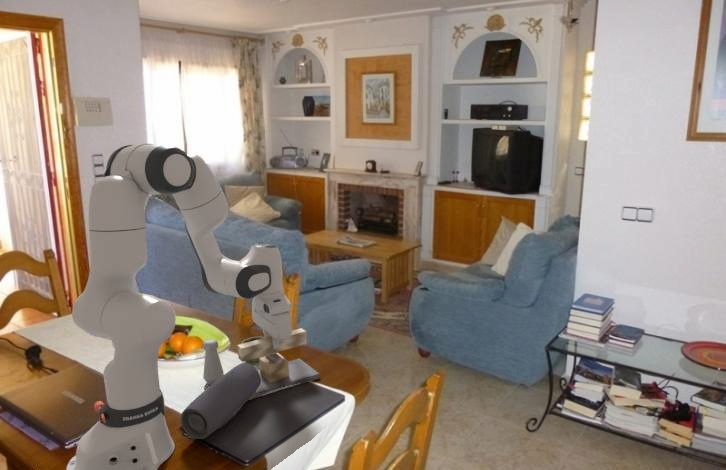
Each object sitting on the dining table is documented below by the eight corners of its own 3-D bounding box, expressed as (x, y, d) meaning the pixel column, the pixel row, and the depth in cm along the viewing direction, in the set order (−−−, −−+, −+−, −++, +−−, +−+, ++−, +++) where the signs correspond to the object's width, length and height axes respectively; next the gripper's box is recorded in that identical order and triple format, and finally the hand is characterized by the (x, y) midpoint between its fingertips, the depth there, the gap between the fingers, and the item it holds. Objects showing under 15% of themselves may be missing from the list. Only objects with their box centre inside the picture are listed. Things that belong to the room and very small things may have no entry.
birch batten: (242, 362, 151) (241, 348, 150) (238, 358, 153) (237, 345, 153) (306, 343, 161) (305, 331, 161) (302, 340, 164) (301, 328, 163)
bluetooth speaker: (236, 392, 151) (230, 359, 148) (265, 396, 147) (260, 362, 145) (182, 441, 130) (175, 403, 128) (214, 446, 127) (207, 408, 124)
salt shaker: (218, 387, 156) (214, 345, 153) (200, 386, 157) (195, 344, 154) (227, 378, 161) (223, 337, 159) (210, 377, 162) (205, 336, 160)
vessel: (256, 350, 180) (255, 333, 179) (279, 354, 177) (277, 336, 175) (233, 365, 170) (231, 346, 169) (256, 370, 166) (255, 351, 165)
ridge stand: (248, 401, 148) (245, 373, 146) (231, 383, 158) (229, 357, 157) (319, 378, 159) (318, 352, 157) (299, 362, 170) (298, 338, 168)
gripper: (244, 292, 161) (248, 336, 164) (272, 311, 144) (276, 359, 147) (264, 288, 164) (268, 331, 167) (294, 306, 147) (297, 353, 150)
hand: (272, 345), depth 157 cm, fingers closed on birch batten, 3 cm apart
